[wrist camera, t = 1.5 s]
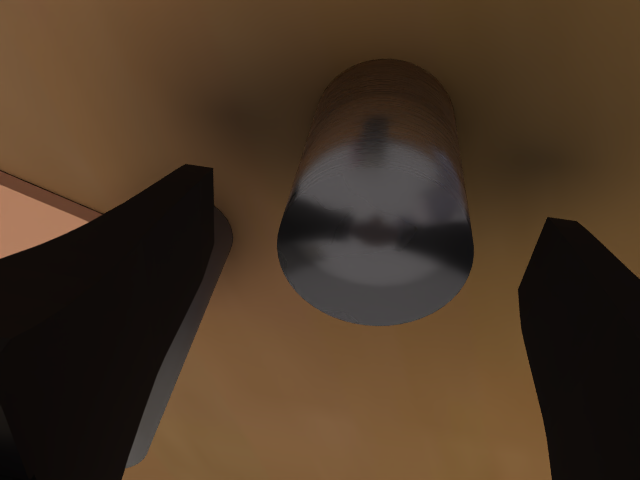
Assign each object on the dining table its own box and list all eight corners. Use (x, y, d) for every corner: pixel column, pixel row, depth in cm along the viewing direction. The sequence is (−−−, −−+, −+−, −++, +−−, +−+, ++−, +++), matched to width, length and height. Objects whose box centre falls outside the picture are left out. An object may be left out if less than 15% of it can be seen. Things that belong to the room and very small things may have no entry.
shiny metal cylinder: (483, 99, 16) (515, 225, 11) (410, 207, 18) (409, 349, 13) (352, 32, 15) (326, 135, 10) (293, 153, 18) (249, 281, 13)
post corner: (245, 218, 19) (162, 421, 13) (216, 278, 21) (132, 483, 15) (159, 180, 19) (29, 372, 12) (137, 245, 20) (14, 442, 14)
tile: (134, 227, 20) (127, 238, 20) (96, 347, 24) (89, 358, 24) (-71, 140, 19) (-83, 149, 18) (-75, 282, 23) (-85, 292, 22)
